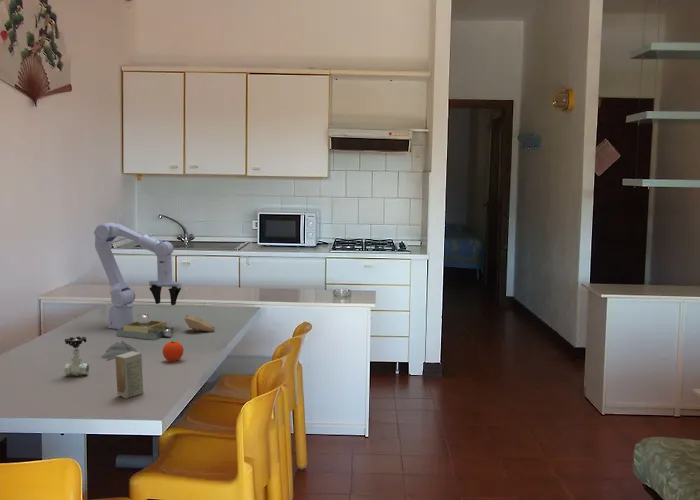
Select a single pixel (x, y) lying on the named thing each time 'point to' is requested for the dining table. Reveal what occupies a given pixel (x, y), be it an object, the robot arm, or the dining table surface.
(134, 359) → the skincare box
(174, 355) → the clementine
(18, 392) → the dining table surface
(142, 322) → the tin can
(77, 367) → the valve
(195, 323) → the pottery oil lamp
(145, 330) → the metal tray
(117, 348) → the cloth
